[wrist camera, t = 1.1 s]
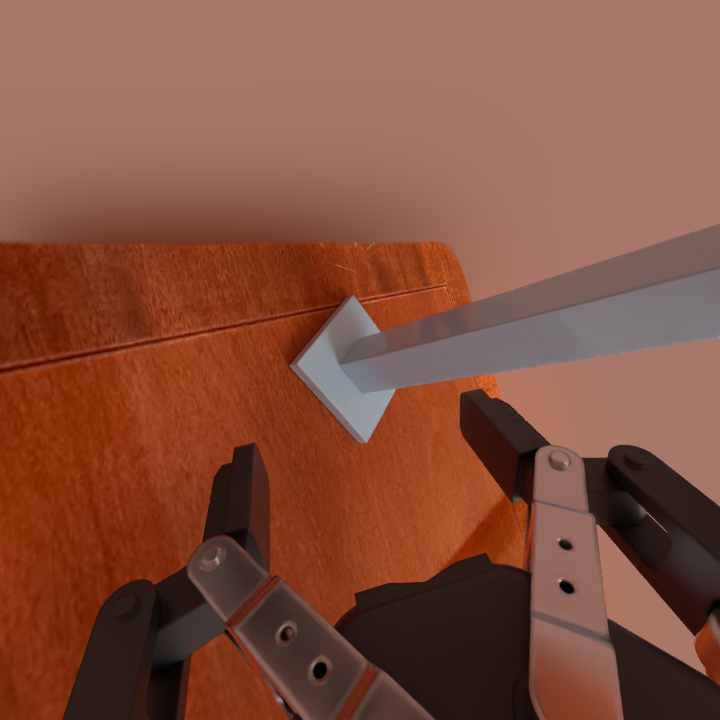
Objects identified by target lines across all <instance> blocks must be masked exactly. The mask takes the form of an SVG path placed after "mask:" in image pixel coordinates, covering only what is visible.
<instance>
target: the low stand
mask: <svg viewBox="0 0 720 720" xmlns="http://www.w3.org/2000/svg"><path fill="white" fill-rule="evenodd" d="M714 338H720V224H717V225H714V226H711V227H708V228H705V229H702V230H699V231H695V232H692V233H689V234H686V235H683V236H680V237H677V238H674V239H670V240H668V241H664V242H661V243H658V244H655V245H651V246H648V247H645V248H642V249H639V250H636V251H633V252H630V253H627V254H623V255H620V256H617V257H614V258H611V259H608V260H604V261H602V262H598V263H595V264H592V265H589V266H586V267H583V268H579V269H576V270H573V271H570V272H567V273H564V274H561V275H558V276H554V277H551V278H548V279H545V280H542V281H539V282H536V283H533V284H529V285H527V286H523V287H520V288H517V289H514V290H511V291H507V292H504V293H501V294H498V295H495V296H492V297H489V298H486V299H483V300H480V301H476V302H473V303H470V304H467V305H464V306H460V307H457V308H454V309H451V310H448V311H445V312H442V313H439V314H435V315H432V316H429V317H426V318H423V319H420V320H417V321H414V322H410V323H407V324H404V325H401V326H398V327H395V328H392V329H388V330H385V331H382V332H380V330H379V329H378V328H377V326H376V325H375V323H374V322H373V321H372V319H371V318H370V317H369V315H368V314H367V313H366V311H365V310H364V308H363V307H362V306H361V304H360V303H359V302H358V300H357V299H356V298H355V296H354V295H352V296H350V297H348V298H346V299H345V300H344V301H343V302H342V303H341V305H340V306H339V307H338V308H337V309H336V310H335V312H334V313H333V314H332V315H331V316H330V318H329V319H328V320H327V321H326V322H325V323H324V325H323V326H322V327H321V328H320V329H319V331H318V332H317V333H316V334H315V335H314V337H313V338H312V339H311V340H310V341H309V342H308V344H307V345H306V346H305V347H304V348H303V350H302V351H301V352H300V353H299V354H298V356H297V357H296V358H295V359H294V360H293V361H292V363H291V364H290V365H289V367H290V368H291V369H292V370H293V371H294V372H295V373H296V374H297V376H298V377H299V378H300V379H301V380H302V381H303V382H304V383H305V384H306V386H307V387H308V388H309V389H310V390H311V391H312V392H313V393H314V394H315V395H316V397H317V398H318V399H319V400H320V401H321V402H322V403H323V404H324V405H325V407H326V408H327V409H328V410H329V411H330V412H331V413H332V414H333V415H334V417H335V418H336V419H337V420H338V421H339V422H340V423H341V424H342V425H343V427H344V428H345V429H346V430H347V431H348V432H349V433H350V434H351V435H352V437H353V438H354V439H355V440H356V441H357V442H358V443H367V442H368V440H369V438H370V436H371V434H372V433H373V431H374V429H375V427H376V425H377V423H378V422H379V420H380V418H381V416H382V414H383V412H384V411H385V409H386V407H387V405H388V403H389V401H390V400H391V398H392V396H393V394H394V392H395V390H396V389H397V388H404V387H410V386H416V385H423V384H429V383H436V382H442V381H448V380H455V379H461V378H467V377H474V376H480V375H486V374H493V373H499V372H505V371H512V370H518V369H524V368H530V367H537V366H543V365H549V364H555V363H562V362H569V361H575V360H581V359H588V358H594V357H600V356H606V355H613V354H619V353H625V352H632V351H638V350H644V349H650V348H657V347H664V346H670V345H676V344H683V343H689V342H695V341H702V340H708V339H714Z"/></svg>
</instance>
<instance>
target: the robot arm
mask: <svg viewBox="0 0 720 720" xmlns="http://www.w3.org/2000/svg"><path fill="white" fill-rule="evenodd" d="M460 429H461V432H462V435H463V437H464V438H465V440H466V441H467V443H468V444H469V445H470V447H471V448H472V449H473V451H474V452H475V453H476V455H477V456H478V458H479V459H480V460H481V462H482V463H483V464H484V466H485V467H486V468H487V470H488V471H489V472H490V474H491V475H492V477H493V478H494V479H495V481H496V482H497V483H498V485H499V486H500V487H501V489H502V490H503V491H504V493H505V494H506V496H507V497H508V498H509V500H510V501H511V502H512V503H515V502H518V501H521V500H524V501H525V503H526V504H527V505H528V506H527V515H526V531H525V547H524V561H523V569H520V568H517V567H514V566H510V565H505V564H496V563H491V561H490V559H489V558H488V556H487V554H486V553H484V554H481V555H477V556H474V557H471V558H468V559H465V560H461V561H458V562H455V563H453V564H452V565H450V566H449V567H447V568H446V569H444V570H443V571H441V572H440V573H438V574H437V575H435V576H434V577H432V578H431V579H429V580H428V581H425V582H414V583H387V584H384V585H381V586H378V587H375V588H371V589H368V590H365V591H362V592H358V593H355V599H356V603H357V605H356V606H355V607H353V608H352V609H350V610H349V611H348V612H347V613H345V614H344V615H343V616H342V617H341V618H340V619H339V620H338V622H337V623H336V624H335V625H334V627H332V626H331V625H330V624H329V623H328V622H327V621H326V620H325V619H324V618H323V617H322V616H321V615H320V614H319V613H318V612H316V611H315V610H314V609H313V608H312V607H311V606H310V605H309V604H308V603H307V602H306V601H305V600H304V599H303V598H302V597H301V596H300V595H299V594H298V593H297V592H296V591H295V590H293V589H292V588H291V587H290V586H289V585H288V584H287V583H286V582H285V581H284V580H283V579H282V578H280V577H279V576H277V575H276V576H274V577H272V576H271V575H270V574H269V573H270V488H269V480H268V475H267V472H266V469H265V466H264V463H263V460H262V457H261V454H260V452H259V449H258V446H257V444H256V443H251V444H247V445H243V446H238V447H235V448H234V452H233V460H232V463H229V464H225V465H222V466H221V468H220V469H219V471H218V472H217V474H216V475H215V477H214V481H213V486H212V492H211V497H210V503H209V508H208V514H207V519H206V525H205V530H204V536H203V541H202V544H200V545H199V546H198V547H197V548H196V549H195V551H194V552H193V553H192V555H191V556H190V558H189V560H188V563H187V565H186V566H185V567H184V568H182V569H181V570H179V571H178V572H176V573H175V574H173V575H171V576H169V577H168V578H166V579H164V580H162V581H161V582H159V583H157V584H155V585H153V584H152V583H151V582H150V581H148V580H144V579H140V580H135V581H132V582H129V583H127V584H125V585H123V586H122V587H120V588H119V589H118V590H116V591H115V592H114V593H113V594H112V595H111V596H110V597H109V598H108V599H107V600H106V601H105V603H104V604H103V605H102V607H101V609H100V610H99V612H98V615H97V617H96V620H95V623H94V626H93V629H92V632H91V635H90V638H89V641H88V644H87V647H86V650H85V653H84V656H83V659H82V662H81V665H80V668H79V671H78V674H77V677H76V680H75V683H74V686H73V689H72V692H71V695H70V698H69V701H68V704H67V707H66V710H65V713H64V716H63V719H62V720H184V717H185V708H186V699H187V690H188V681H189V672H190V662H191V654H192V653H193V652H195V651H196V650H198V649H199V648H201V647H202V646H204V645H205V644H207V643H208V642H209V641H211V640H212V639H214V638H215V637H217V636H218V635H220V634H221V633H224V634H225V635H226V637H227V638H228V639H229V641H230V642H231V643H232V645H233V646H234V647H235V648H236V650H237V651H238V652H239V654H240V655H241V656H242V658H243V659H244V660H245V662H246V663H247V664H248V665H249V667H250V668H251V669H252V671H253V672H254V673H255V675H256V676H257V677H258V679H259V680H260V682H261V683H262V684H263V686H264V687H265V689H266V690H267V692H268V693H269V695H270V696H271V697H272V699H273V700H274V701H275V703H276V704H277V705H278V707H279V708H280V709H281V711H282V712H283V713H284V715H285V716H286V717H287V719H288V720H720V507H719V506H718V505H717V504H716V503H714V502H713V501H712V500H711V499H709V498H708V497H707V496H705V495H704V494H703V493H702V492H700V491H699V490H698V489H697V488H695V487H694V486H693V485H692V484H690V483H689V482H688V481H686V480H685V479H684V478H683V477H681V476H680V475H679V474H678V473H676V472H675V471H674V470H673V469H671V468H670V467H669V466H667V465H666V464H665V463H664V462H663V461H661V460H660V459H659V458H657V457H656V456H655V455H653V454H652V453H650V452H649V451H647V450H645V449H642V448H639V447H635V446H630V445H618V446H615V447H613V448H612V449H610V451H609V453H608V457H607V458H581V457H580V456H579V455H578V454H576V453H575V452H573V451H572V450H570V449H568V448H565V447H561V446H556V445H551V444H550V443H549V442H548V441H547V440H546V439H545V438H544V437H543V436H541V434H540V433H538V432H537V431H536V430H535V429H534V428H533V427H532V426H531V425H530V424H529V423H528V422H527V421H525V420H524V418H523V417H522V416H521V415H520V414H518V413H517V411H516V410H515V409H514V408H512V407H511V406H510V405H509V404H508V403H506V402H504V401H502V400H500V399H498V398H493V399H491V398H490V397H489V396H488V395H487V394H486V393H485V392H484V391H483V390H482V389H476V390H472V391H468V392H464V393H461V395H460ZM647 512H648V513H649V514H650V515H651V516H652V517H653V518H654V519H655V520H656V521H657V522H658V523H659V524H660V525H661V526H662V527H663V528H664V529H665V530H666V531H667V532H666V531H665V530H663V529H662V528H661V527H660V526H659V525H658V524H657V523H656V522H655V521H654V520H653V519H652V518H651V517H650V516H649V515H648V514H647ZM597 524H598V525H599V526H600V527H601V528H602V529H603V530H604V531H605V532H606V534H607V535H608V536H609V537H610V538H611V540H612V541H613V542H614V543H615V544H616V545H617V547H618V548H619V549H620V550H621V551H622V552H623V553H624V555H625V556H626V557H627V558H628V559H629V561H630V562H631V563H632V564H633V565H634V566H635V567H636V569H637V570H638V571H639V572H640V573H641V574H642V576H643V577H644V578H645V579H646V580H647V581H648V583H649V584H650V585H651V586H652V587H653V588H654V590H655V591H656V592H657V593H658V594H659V595H660V597H661V598H662V599H663V600H664V601H665V602H666V604H667V605H668V606H669V607H670V608H671V609H672V611H673V612H674V613H675V614H676V615H677V616H678V618H679V619H680V620H681V621H682V622H683V623H684V624H685V626H686V627H687V628H688V629H689V630H690V632H691V633H692V634H693V635H694V636H695V649H696V652H697V655H698V657H699V659H700V661H701V662H702V664H703V665H704V667H705V669H706V674H707V676H708V677H707V676H705V675H704V674H702V673H701V672H699V671H697V670H696V669H694V668H692V667H690V666H689V665H687V664H685V663H684V662H682V661H680V660H679V659H677V658H675V657H673V656H672V655H670V654H668V653H667V652H665V651H663V650H662V649H660V648H658V647H656V646H655V645H653V644H651V643H649V642H648V641H646V640H644V639H643V638H641V637H639V636H638V635H636V634H634V633H632V632H631V631H629V630H627V629H625V628H624V627H622V626H620V625H619V624H617V623H615V622H613V621H612V620H610V619H608V618H607V614H606V606H605V597H604V588H603V580H602V571H601V563H600V555H599V545H598V537H597V528H596V525H597Z"/></svg>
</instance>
